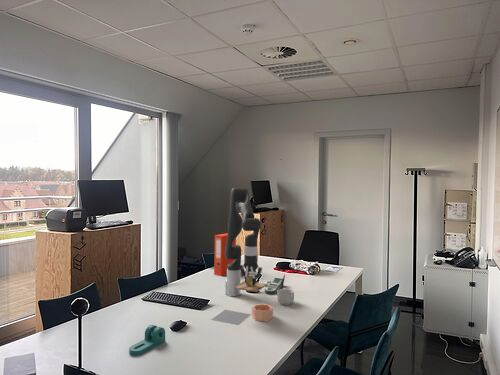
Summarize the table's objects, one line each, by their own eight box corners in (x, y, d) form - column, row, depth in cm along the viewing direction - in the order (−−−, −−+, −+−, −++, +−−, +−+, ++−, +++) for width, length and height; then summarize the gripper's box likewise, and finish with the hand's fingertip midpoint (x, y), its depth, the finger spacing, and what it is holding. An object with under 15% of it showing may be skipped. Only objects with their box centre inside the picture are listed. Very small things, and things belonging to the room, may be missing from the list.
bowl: (249, 319, 206) (249, 309, 205) (257, 313, 216) (257, 303, 215) (267, 323, 201) (268, 312, 201) (274, 316, 211) (274, 305, 211)
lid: (233, 288, 204) (233, 278, 204) (244, 282, 217) (244, 272, 217) (256, 292, 198) (256, 281, 198) (266, 285, 211) (266, 275, 211)
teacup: (293, 307, 226) (293, 294, 226) (275, 305, 228) (275, 292, 228) (295, 299, 240) (295, 287, 240) (278, 298, 242) (278, 286, 242)
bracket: (154, 338, 181) (155, 322, 181) (165, 341, 178) (165, 325, 178) (125, 353, 166) (125, 336, 165) (136, 357, 162) (136, 339, 162)
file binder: (235, 272, 307) (235, 233, 306) (221, 276, 293) (221, 236, 292) (228, 270, 312) (228, 232, 311) (214, 274, 298) (214, 235, 297)
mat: (210, 320, 204) (210, 319, 204) (225, 310, 220) (225, 309, 220) (238, 325, 197) (238, 325, 197) (251, 314, 213) (251, 314, 213)
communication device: (259, 294, 252) (259, 281, 252) (270, 284, 274) (270, 272, 274) (276, 296, 248) (276, 283, 247) (285, 286, 270) (285, 274, 270)
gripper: (236, 253, 206) (236, 284, 207) (259, 256, 200) (259, 287, 201) (242, 251, 213) (242, 280, 214) (265, 253, 207) (264, 284, 208)
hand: (250, 284), depth 207 cm, fingers closed on lid, 3 cm apart
